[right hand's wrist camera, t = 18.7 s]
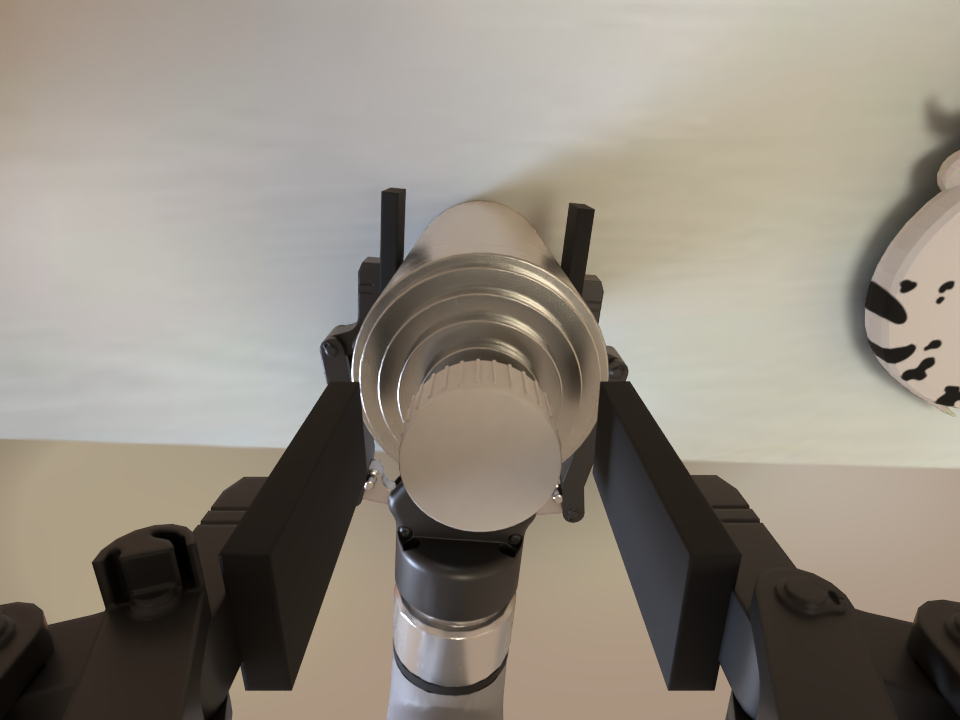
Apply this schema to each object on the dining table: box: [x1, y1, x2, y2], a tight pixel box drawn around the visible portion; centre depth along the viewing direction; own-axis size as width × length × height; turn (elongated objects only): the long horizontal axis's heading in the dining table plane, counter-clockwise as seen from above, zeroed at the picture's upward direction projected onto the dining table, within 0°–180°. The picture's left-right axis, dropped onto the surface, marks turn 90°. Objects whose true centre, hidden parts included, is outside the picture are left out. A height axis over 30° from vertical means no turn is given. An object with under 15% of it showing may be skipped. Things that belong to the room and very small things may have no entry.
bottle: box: [352, 201, 609, 463], centre depth 24 cm, size 8×8×22 cm
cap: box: [398, 359, 562, 532], centre depth 14 cm, size 4×4×2 cm
